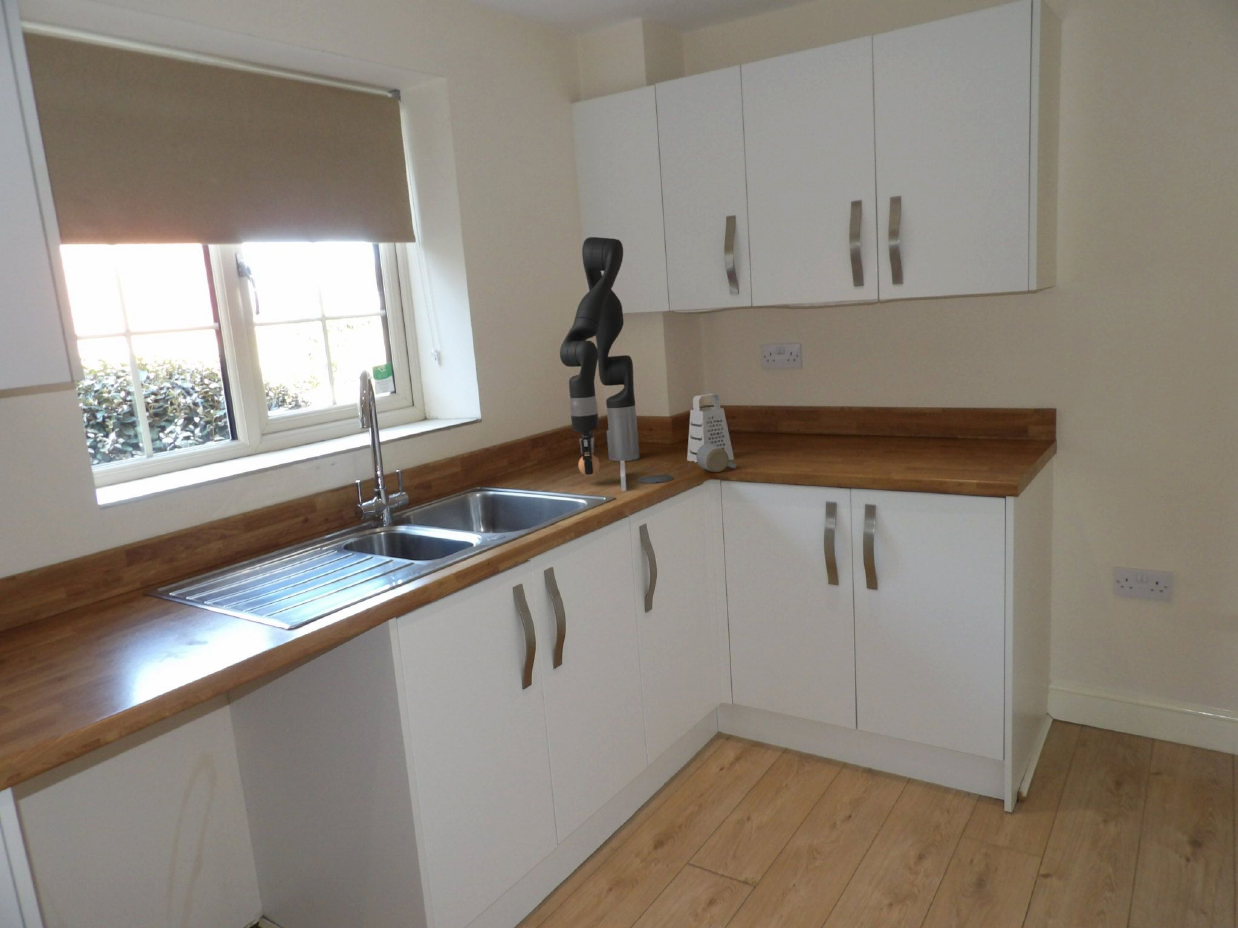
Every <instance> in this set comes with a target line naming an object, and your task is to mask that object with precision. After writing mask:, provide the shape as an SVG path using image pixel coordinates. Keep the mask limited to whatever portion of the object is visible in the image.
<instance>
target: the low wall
mask: <svg viewBox="0 0 1238 928" xmlns="http://www.w3.org/2000/svg"><path fill="white" fill-rule="evenodd" d="M619 462H620V463H619V464H620V466H619V467H620V486H621V487H620V488H621V492H627V477H626V464H625V462H626V461H619Z"/></svg>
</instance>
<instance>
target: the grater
mask: <svg viewBox="0 0 1238 928" xmlns="http://www.w3.org/2000/svg"><path fill="white" fill-rule="evenodd" d="M708 396H712V397H713V406H707V407H701V408H700V399H701V398H702V397H708ZM692 408H693V409H690V410H689V411H690V412H689V413H690V414H689V426H688V427H689V429H688V442H687V443H688V444H687V459H686V461H689V462H692V461H694V462H693V463H696V462H697V458H696V455H697V451H698V449H699V448H700V447H701V446H702V445H703V444H706V443H712V444H715V445H717V446H718V447H720V448H722V449H723V450H725V451H726V453H727V454H728V457H729V461H731V460H735V458H734V453H733V452H734V451H733V448H732V443H731V436H730V434H729V433H730V432H729V429H728V428H729V427H728V423H727V419H726V414H725V408H723V407H721V397H720V396H719V394H717V393H706V394H699V395H694V397H693V399H692Z"/></svg>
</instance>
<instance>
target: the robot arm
mask: <svg viewBox="0 0 1238 928" xmlns="http://www.w3.org/2000/svg"><path fill="white" fill-rule="evenodd" d="M581 249H582V250H581V253H582V254H581V255H582V257H581V259H582V262H583V268H584V273H585V276H586V281H587V285H588V292H587V293H586V294H585V295H584V296H583V297H582V299H581V300H580V302H579V303H578V305H577V309H576V313H575V316H574V320H573V324H572V326H571V328H570V329H569V331H568V333H567V334H566V336H565V338H564V339H563V342H562V343H561V346H560V350H559V357H560V361H561V363H562V364H563V365H564V366H566V367H567V368H568V367H569V368H573V367H574V368H576V367H580V370H579V374H576V375H573V376H571V377H570V378H569V380H568V387H569V389H568V390H569V399H570V401H569V403H570V404H569V405H570V406H569V407H570V419H571V429H572V431H574V432H580V433H581V435H580V436H579V438H578V439H579V444H580V453H581V454H582V456H581V458H582V459H583V461H584V466H585V474H586V475H585V476H587V475H589V474H593V465H592V460H593V458H592V455H594V451H595V450H594V449H595V443H594V442H595V436H594V434H593V432H592V431H596V430H598V429H599V428H600V423H599V410H598V401H597V397H596V388H595V377H596V370H597V368H598V375H599V376H598V377H599V380H600V384H602V385H603V386H604V387H606V386H622V385H623V388H622V389H621V390H620V391H619V392H618V393H615V394H613V395H611V396H609V397H608V398H606V400H605V401H606V402H605V404H606V416H607V425H608V426H607V428H608V429H607V430H606V438H607V439H606V440H607V441H606V442H607V452H608V460H610V461H613V462H620V461H625V462H628V461H635V460H638V459H640V449H639V448H640V447H639V445H640V443H639V434H638V422H637V421H638V419H637V411H636V410H637V409H636V408H637V407H636V399H635V388H634V387H635V386H634V385H635V384H634V365H633V360H632V357H631V356H630V355H613V356H612V355H610V356H609V354H610V351H611V348H612V346H613V344H614V343H615V341H616V339H617V338H618V337H619V335H620V334H621V332H622V329H623V327H624V313H623V305H622V303H621V300H620V299H619V296H617V294H616V293H615V291H613V289H612V288H613V287H614V284H615V281H616V279H617V276H618V274H619V273H620V269H621V266H622V263H623V258H624V246H623V243H622V241H621V240H620V239H618V238H611V237H597V236H593V237H592V236H591V237H587V238H585V240H584V241H583V244H582V248H581ZM602 272H603V273H602ZM594 337H595V341H596V344H595V343H594V342H593V341H591V340H589V339H591V338H594ZM597 365H598V367H597ZM588 454H590V456H585V455H588ZM594 456H595V455H594Z"/></svg>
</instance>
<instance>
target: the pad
mask: <svg viewBox="0 0 1238 928" xmlns="http://www.w3.org/2000/svg"><path fill="white" fill-rule="evenodd" d="M671 479H673V480H674V476H673V475H669V474H668V475H667V474H655V475H646V476H642V477H639V478H638V479H637V482H638V481H639V482H638V483H640V482H642V484H657V483H656V482H662V483H666V482H665V481H667V482H669V481H668V480H671ZM671 481H672V480H671Z"/></svg>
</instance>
